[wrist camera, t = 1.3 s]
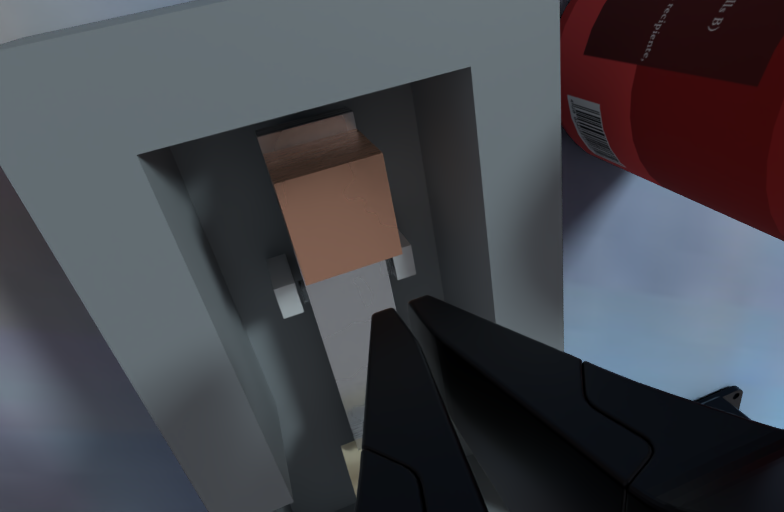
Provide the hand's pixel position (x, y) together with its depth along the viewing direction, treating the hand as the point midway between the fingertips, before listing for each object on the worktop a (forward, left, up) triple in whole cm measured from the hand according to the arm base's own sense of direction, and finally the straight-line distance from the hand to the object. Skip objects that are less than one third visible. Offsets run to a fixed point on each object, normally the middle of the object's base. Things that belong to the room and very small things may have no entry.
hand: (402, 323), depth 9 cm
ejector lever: (-7, 0, -8) cm, 11 cm away
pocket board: (-7, 0, -10) cm, 12 cm away
